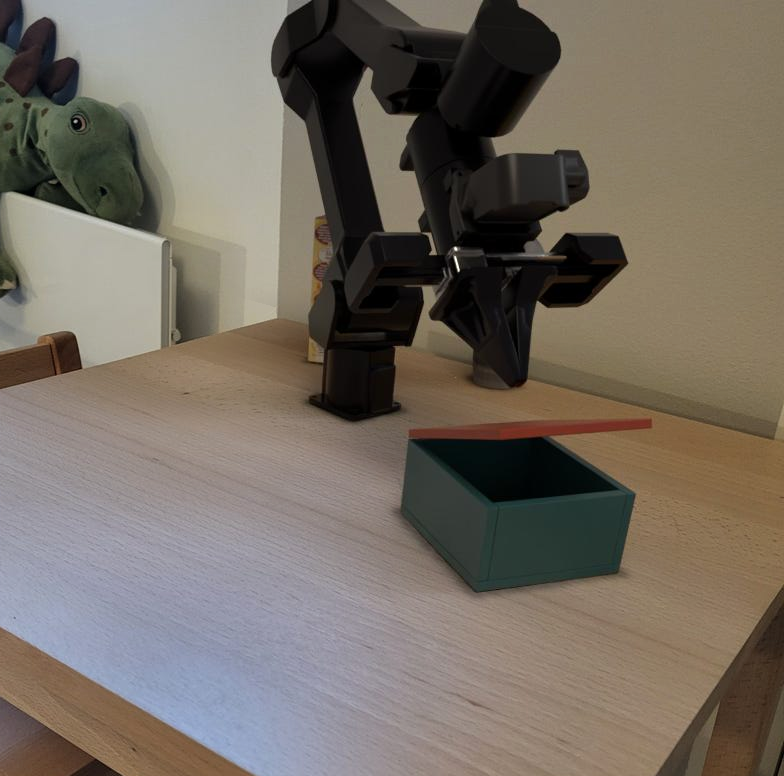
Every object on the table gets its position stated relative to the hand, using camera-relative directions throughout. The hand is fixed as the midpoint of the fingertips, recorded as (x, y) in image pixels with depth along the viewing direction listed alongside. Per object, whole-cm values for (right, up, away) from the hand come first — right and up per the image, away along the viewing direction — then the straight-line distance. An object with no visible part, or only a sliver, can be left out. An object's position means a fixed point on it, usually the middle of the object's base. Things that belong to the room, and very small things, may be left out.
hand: (518, 384), depth 59 cm
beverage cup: (+6, +4, +37) cm, 37 cm away
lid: (0, -3, 0) cm, 3 cm away
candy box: (-10, +8, +43) cm, 45 cm away
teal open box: (0, -10, +3) cm, 11 cm away
